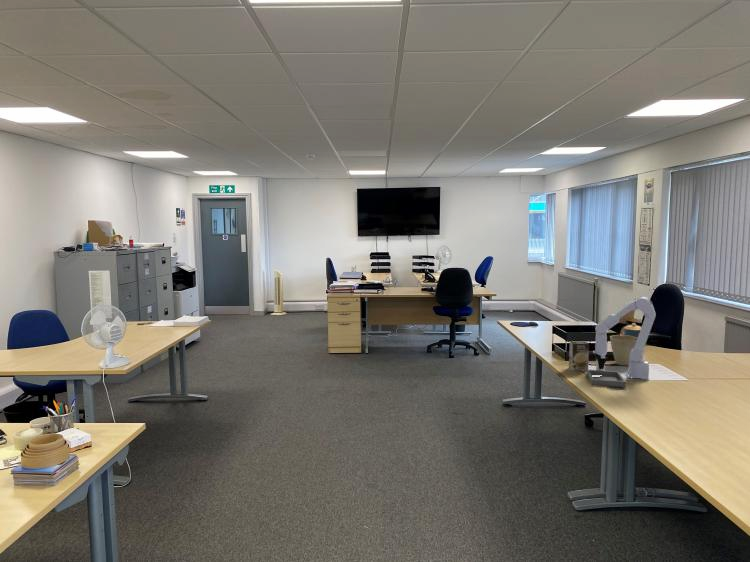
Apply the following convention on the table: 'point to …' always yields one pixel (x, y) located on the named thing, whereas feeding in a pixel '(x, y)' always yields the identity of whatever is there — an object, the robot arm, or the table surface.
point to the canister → (632, 330)
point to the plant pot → (622, 348)
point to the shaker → (598, 366)
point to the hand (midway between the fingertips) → (600, 367)
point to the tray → (606, 378)
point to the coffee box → (578, 355)
